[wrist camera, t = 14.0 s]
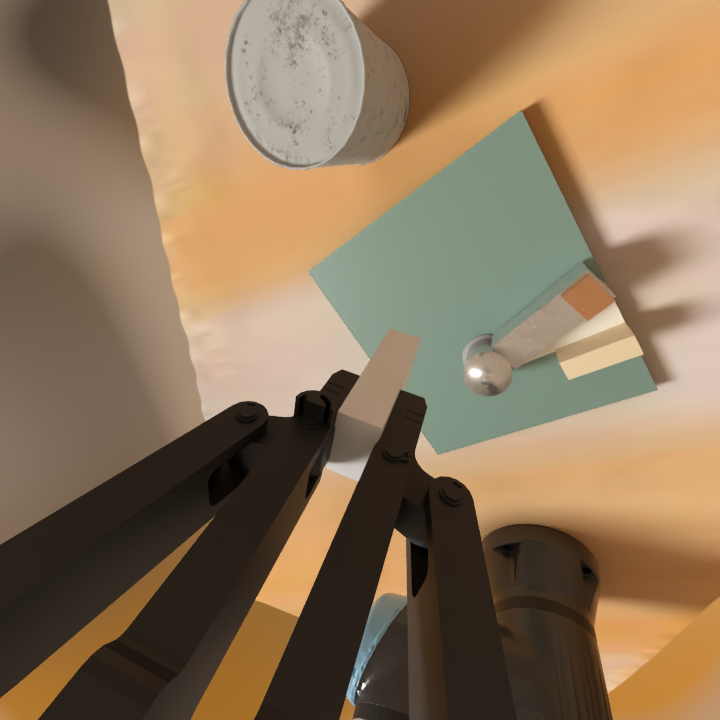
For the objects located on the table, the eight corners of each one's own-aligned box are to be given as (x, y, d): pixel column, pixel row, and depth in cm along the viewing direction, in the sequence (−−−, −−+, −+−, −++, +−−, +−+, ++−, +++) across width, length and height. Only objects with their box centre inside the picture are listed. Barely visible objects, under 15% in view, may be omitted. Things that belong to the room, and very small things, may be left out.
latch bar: (487, 382, 39) (486, 403, 36) (457, 356, 39) (453, 375, 36) (612, 290, 31) (626, 306, 28) (576, 256, 31) (585, 269, 28)
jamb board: (653, 383, 35) (670, 408, 32) (439, 448, 48) (434, 471, 44) (520, 111, 29) (523, 105, 25) (312, 268, 41) (295, 279, 38)
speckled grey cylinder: (432, 101, 30) (399, 76, 20) (356, 188, 36) (300, 201, 26) (356, 1, 29) (279, -80, 19) (289, 106, 34) (200, 87, 24)
